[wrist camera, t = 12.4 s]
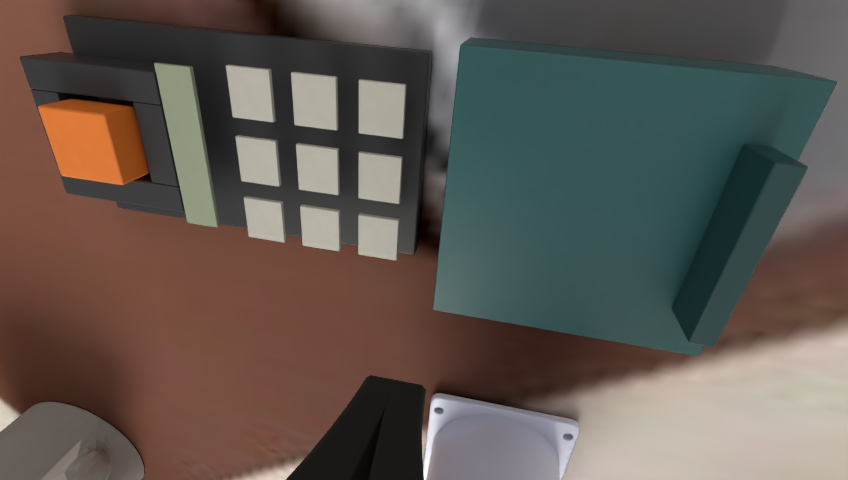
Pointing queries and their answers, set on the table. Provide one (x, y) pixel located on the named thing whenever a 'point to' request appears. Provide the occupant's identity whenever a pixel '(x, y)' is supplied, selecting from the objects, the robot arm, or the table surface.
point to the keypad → (314, 162)
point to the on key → (95, 140)
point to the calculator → (208, 55)
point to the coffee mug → (66, 447)
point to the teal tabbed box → (616, 188)
